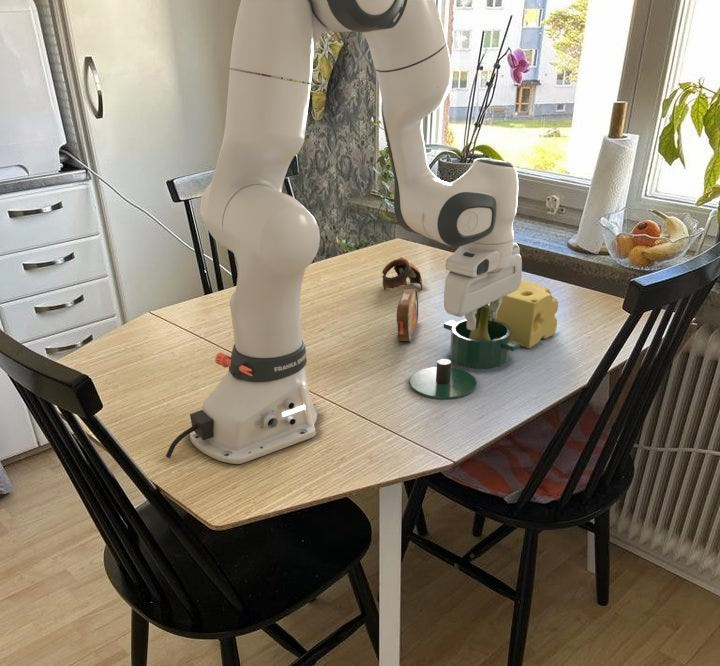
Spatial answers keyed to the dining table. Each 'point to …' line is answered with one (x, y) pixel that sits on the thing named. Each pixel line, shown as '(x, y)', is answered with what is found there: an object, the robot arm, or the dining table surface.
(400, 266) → the brown rounded piece
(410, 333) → the tin
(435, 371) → the lid
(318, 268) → the dining table surface
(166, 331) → the dining table surface
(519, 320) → the cheese
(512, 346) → the pot
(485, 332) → the fennel bulb
